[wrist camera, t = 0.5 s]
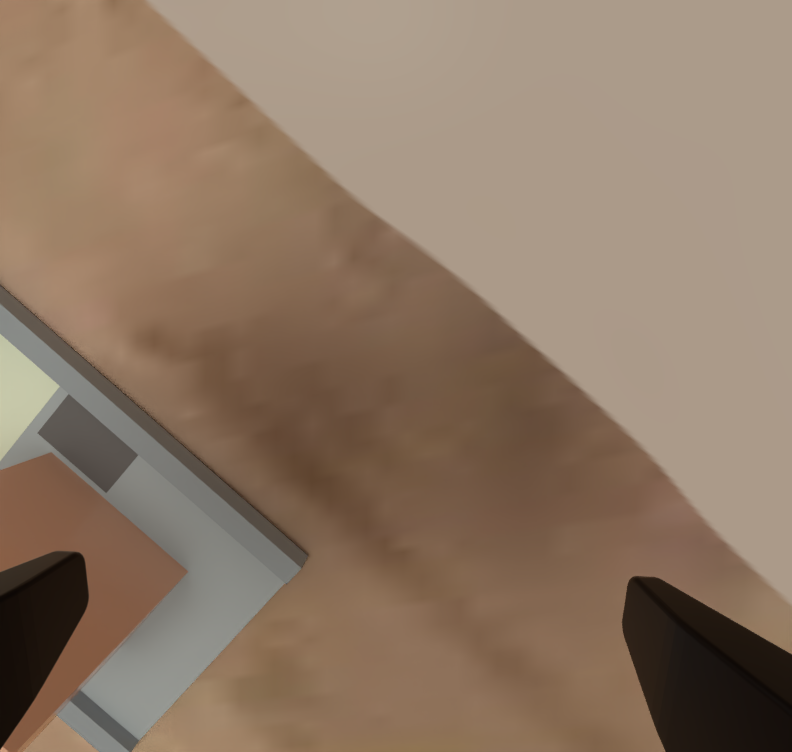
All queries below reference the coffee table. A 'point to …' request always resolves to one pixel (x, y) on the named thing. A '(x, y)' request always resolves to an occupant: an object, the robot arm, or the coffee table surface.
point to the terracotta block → (105, 565)
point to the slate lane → (139, 525)
